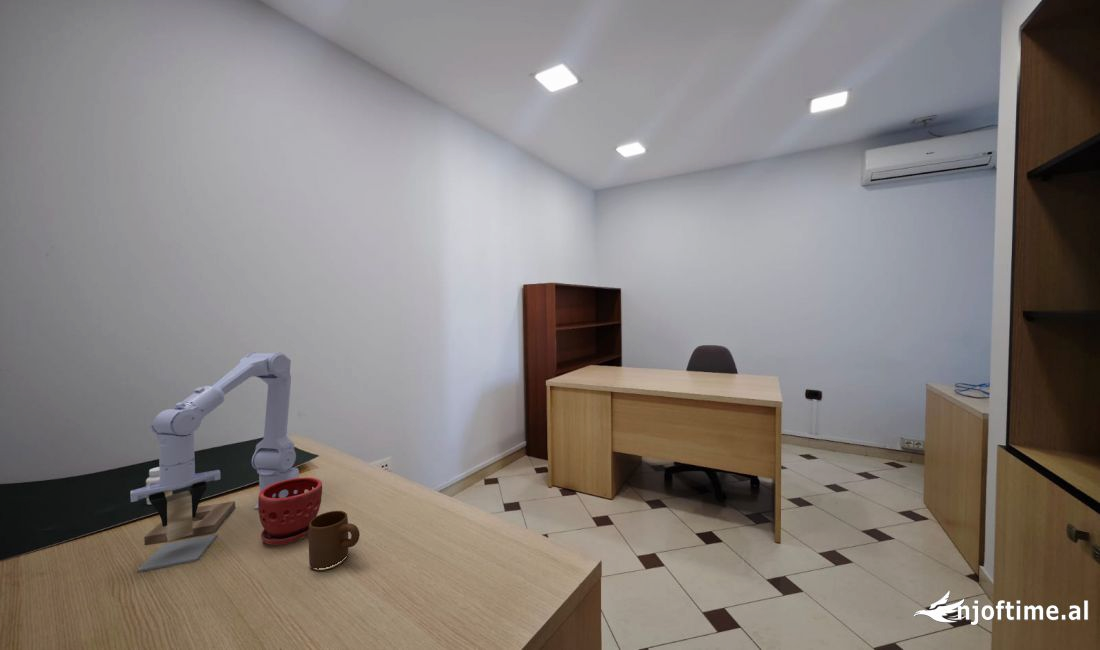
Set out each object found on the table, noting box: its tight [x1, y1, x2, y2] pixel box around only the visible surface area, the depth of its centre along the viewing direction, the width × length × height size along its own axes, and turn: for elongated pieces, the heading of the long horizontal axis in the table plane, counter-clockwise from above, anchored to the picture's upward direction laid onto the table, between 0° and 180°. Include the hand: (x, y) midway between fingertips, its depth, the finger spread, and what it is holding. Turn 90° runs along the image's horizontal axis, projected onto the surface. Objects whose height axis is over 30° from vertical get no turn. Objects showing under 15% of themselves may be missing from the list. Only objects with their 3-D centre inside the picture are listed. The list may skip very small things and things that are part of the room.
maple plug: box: [166, 490, 193, 543], centre depth 86 cm, size 4×4×9 cm
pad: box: [136, 534, 218, 573], centre depth 86 cm, size 10×10×1 cm
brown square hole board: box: [143, 500, 236, 546], centre depth 98 cm, size 13×13×2 cm
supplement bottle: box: [145, 466, 174, 506], centre depth 111 cm, size 5×5×10 cm
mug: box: [307, 510, 360, 569], centre depth 83 cm, size 12×8×9 cm, turn 73°
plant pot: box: [257, 477, 323, 546], centre depth 94 cm, size 13×13×12 cm
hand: (179, 520), depth 86 cm, fingers closed on maple plug, 4 cm apart
